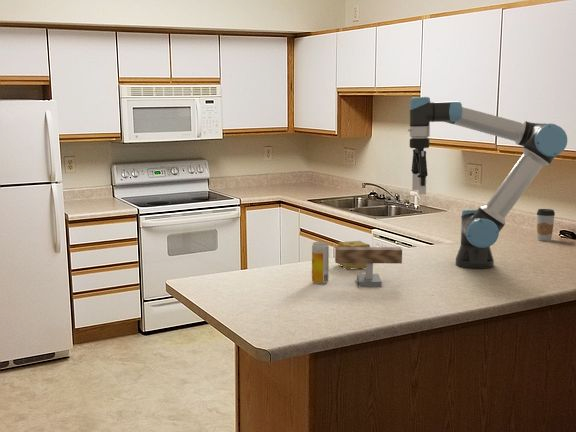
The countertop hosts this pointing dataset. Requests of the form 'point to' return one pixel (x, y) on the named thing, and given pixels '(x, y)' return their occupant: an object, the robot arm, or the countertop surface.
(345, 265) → the cheese
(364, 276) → the fulcrum
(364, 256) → the walnut bar
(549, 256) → the countertop surface
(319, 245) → the beer can
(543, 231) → the coffee cup
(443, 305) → the countertop surface
